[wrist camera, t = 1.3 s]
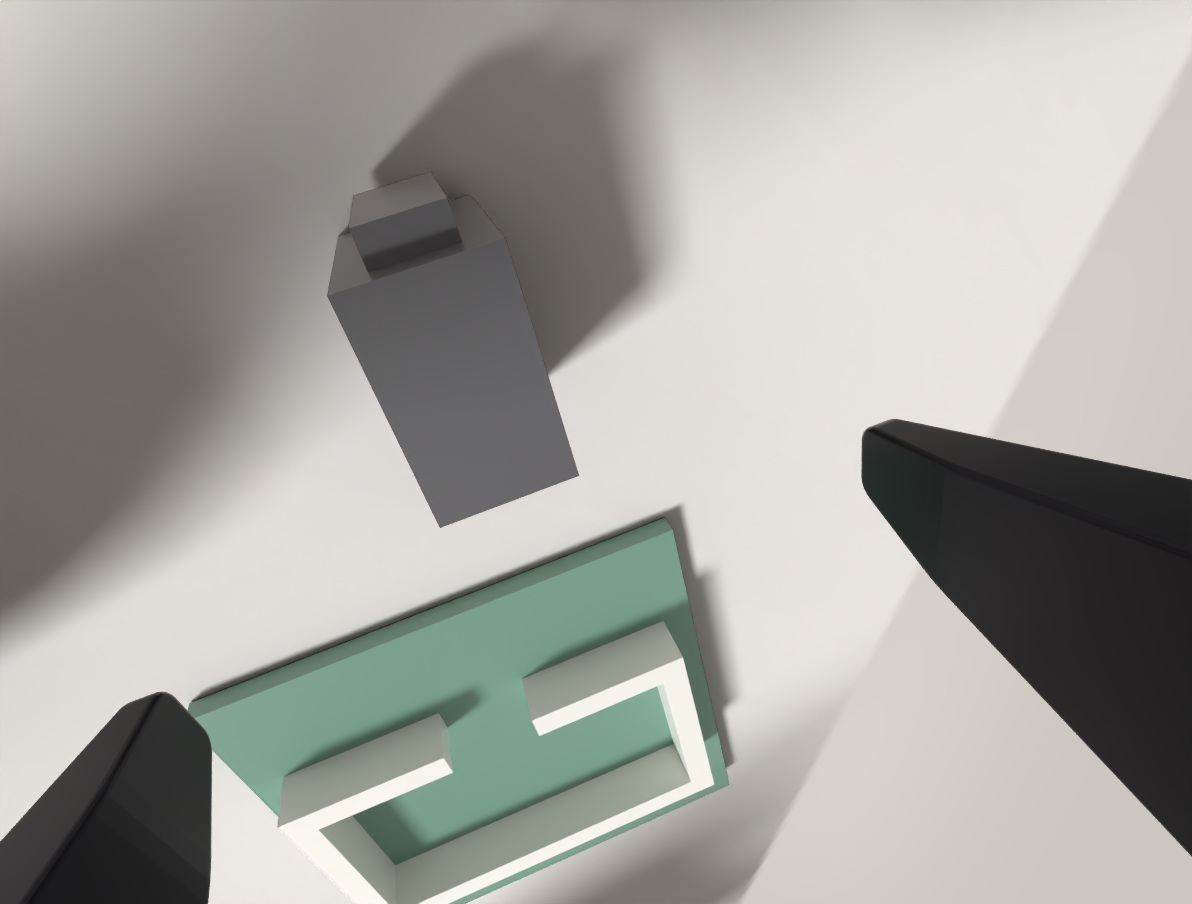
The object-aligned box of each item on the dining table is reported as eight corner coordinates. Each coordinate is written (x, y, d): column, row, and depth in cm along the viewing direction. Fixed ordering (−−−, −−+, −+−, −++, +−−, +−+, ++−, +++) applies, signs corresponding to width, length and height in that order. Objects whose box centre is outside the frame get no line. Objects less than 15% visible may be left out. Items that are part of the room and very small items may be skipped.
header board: (395, 917, 33) (397, 982, 30) (189, 703, 23) (169, 774, 20) (722, 771, 35) (747, 821, 33) (664, 517, 25) (694, 563, 23)
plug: (424, 425, 20) (439, 528, 16) (322, 200, 17) (305, 249, 12) (533, 386, 21) (579, 475, 16) (458, 158, 17) (490, 190, 12)
